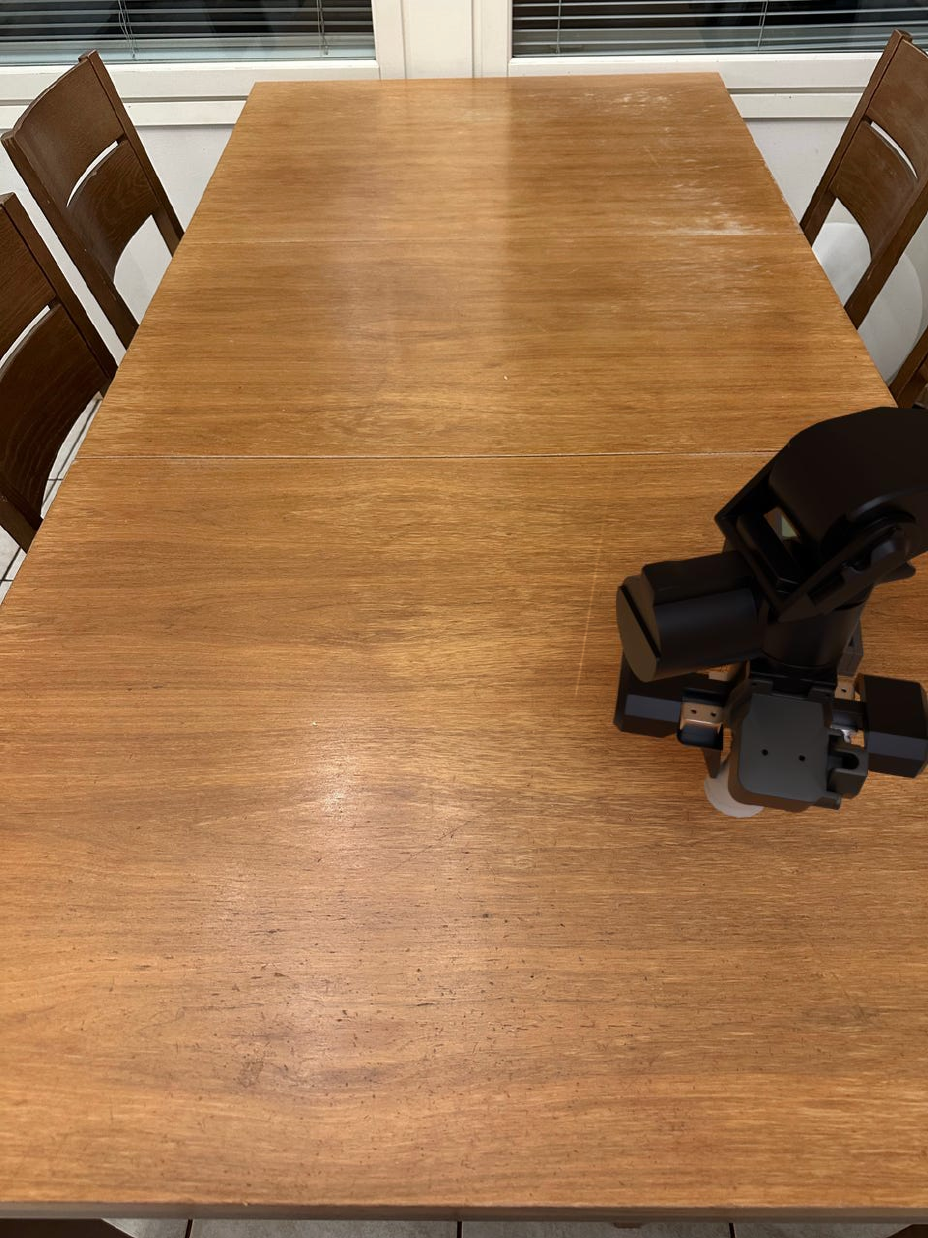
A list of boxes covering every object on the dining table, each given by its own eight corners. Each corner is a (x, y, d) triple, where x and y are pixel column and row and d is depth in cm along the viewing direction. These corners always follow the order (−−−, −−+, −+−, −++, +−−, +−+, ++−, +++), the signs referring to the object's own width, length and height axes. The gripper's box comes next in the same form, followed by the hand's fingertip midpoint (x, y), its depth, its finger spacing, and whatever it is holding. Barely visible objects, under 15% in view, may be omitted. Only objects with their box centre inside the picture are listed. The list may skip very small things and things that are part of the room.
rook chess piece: (778, 811, 66) (808, 746, 60) (721, 829, 65) (745, 764, 59) (747, 760, 69) (772, 693, 63) (691, 776, 68) (712, 709, 62)
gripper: (619, 715, 50) (592, 857, 62) (993, 774, 47) (891, 911, 59) (636, 569, 57) (609, 720, 69) (961, 612, 55) (876, 763, 66)
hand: (740, 777), depth 65 cm, fingers closed on rook chess piece, 3 cm apart
